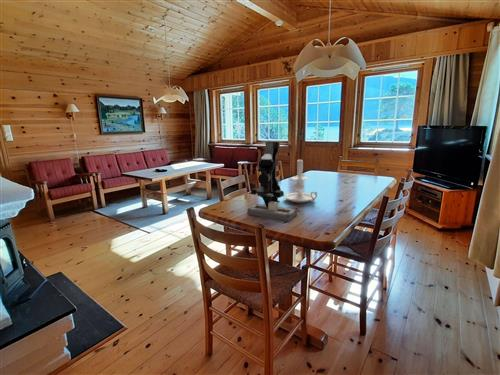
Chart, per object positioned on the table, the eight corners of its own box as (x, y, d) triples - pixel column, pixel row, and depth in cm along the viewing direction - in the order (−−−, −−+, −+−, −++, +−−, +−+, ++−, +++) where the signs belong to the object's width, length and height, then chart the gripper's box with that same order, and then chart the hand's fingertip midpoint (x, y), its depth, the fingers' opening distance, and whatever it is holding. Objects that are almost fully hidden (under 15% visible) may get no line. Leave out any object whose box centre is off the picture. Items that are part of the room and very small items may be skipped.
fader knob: (271, 209, 156) (271, 201, 155) (278, 210, 154) (277, 201, 153) (268, 211, 153) (268, 202, 152) (274, 212, 151) (274, 203, 150)
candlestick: (306, 209, 162) (307, 163, 156) (277, 200, 181) (277, 159, 175) (327, 202, 175) (328, 159, 168) (298, 195, 194) (298, 156, 187)
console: (257, 208, 166) (257, 203, 165) (297, 214, 153) (297, 208, 152) (247, 214, 156) (247, 208, 156) (288, 221, 143) (288, 215, 142)
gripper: (245, 181, 150) (246, 208, 153) (275, 184, 140) (275, 213, 144) (255, 178, 159) (256, 203, 162) (284, 180, 149) (284, 207, 153)
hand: (267, 207), depth 155 cm, fingers closed
